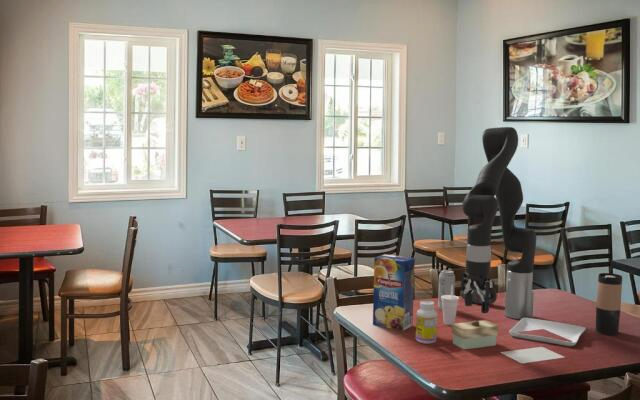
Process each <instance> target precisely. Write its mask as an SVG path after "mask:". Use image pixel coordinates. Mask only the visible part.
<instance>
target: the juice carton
mask: <svg viewBox="0 0 640 400" xmlns="http://www.w3.org/2000/svg"><path fill="white" fill-rule="evenodd" d="M415 260H416V257H415V258H414V257H407V256H400V255H393V254H386V253H385V254H382V255H379V256H375V257H374V262H373V263H374V264H373V265H374V268H373V269H374V270H373V271H374V272H373V273H374V274H373V302H372V325H374V326H378V327H384V328H388V329H393V330H398V331H405V330H407V329H409V328H411V327H412V326H413V323H414V321H413V320H414V293H415V291H414V290H415V263H416V261H415Z"/></svg>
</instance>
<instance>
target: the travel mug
mask: <svg viewBox="0 0 640 400" xmlns="http://www.w3.org/2000/svg"><path fill="white" fill-rule="evenodd" d="M622 286H623V275H620V274H617V273H609V272H602V273H601V272H600V273H598V278H597V289H596V290H597V293H596V304H595V306H596V307H595V332H596V333H597V334H600V333H601V335H605V334H606V336H616V335H618V334H619V330H620V329H619V328H620V319H621V310H622V309H621V308H622V307H621V306H622V291H623V289H622V288H623V287H622Z"/></svg>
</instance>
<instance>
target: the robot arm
mask: <svg viewBox="0 0 640 400" xmlns="http://www.w3.org/2000/svg"><path fill="white" fill-rule="evenodd" d="M481 139H482V140H481V141H482V148H483V151H484V154H485V157H486V160H487V163H486V164H485V165H484V166H483V167H482V169H480V171H479V173H478V177H477V179H476V182H475V184H474V185H473V186H472V188H471V189H470V190H469V192H468V193H467V194H466V195H465V197H464V199H463V200H462V201H463V202H462V206H461V207H462V208H461V209H462V212H463V213H464V215H465V216H466V217H469V218H479V219H481V218H482V219H483V218H484V219H483V221H482V223H477V224H472V225H469V226H468V228H467V241H466V243H467V245H466V249H465V250H466V252H465V272H462V273H461V280H460V292H461V291H464V294H465V300H464V305H465V306H466V307H471V306H473V302H472V294H471V293H472V292H473V291H474V290H475V291H477V292H478V294H479V295H480V296H481V299H482V304H480V305H481V309H480V310H481V311H480V312H481V314H488V313H489V311H490V305H489V302H490V301H492V300H494V289H495V281H494V280H488V276H489V275H491V268H492V267H491V262H492V260H491V259H492V249H491V241H492V229H493V226H494V221H495V218H496V216H497V212H498V211H499V217H500V224H501V231H502V240H503V245H504V248H505V250H507V251H509V252H512V253H517V254H519V253H520V254H521V257H520V258H519V259H516V260H510V261H508V262H507V265H506V281H505V302H504V303H505V304H504V315H505V317H508V318H511V319H515V320H521V319H522V318H533V316H534V303H535V302H534V298H535V292H534V291H533V277H534V274H533V273H534V267H535V259H536V257H535V255H536V248H537V247H536V245H537V233H536V231H535V230H534V229H532V228H527V227H526V228H525V227H517V226H515V218H516V217H515V216H516V215H517V213H518V212H519V210H520V209H521V206H522V204H523V202H524V194H523V189H522V184H521V181H520V179H519V178H518V176H516V175H515V173H514V172H512V171H511V170H510V169H509V164H510V163H511V161H512V159H513V157H514V156H515V154H516V152H517V149H518V146H519V145H518V144H519V135H518V132H517V129H515V128H514V127H512V126H502V127H501V126H500V127H490V128H489V127H488V128H485V129H484V130H483V132H482V138H481ZM484 289H485V291H483V290H484ZM489 293H491V297H490V296H489ZM484 295H485V297H484Z"/></svg>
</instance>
